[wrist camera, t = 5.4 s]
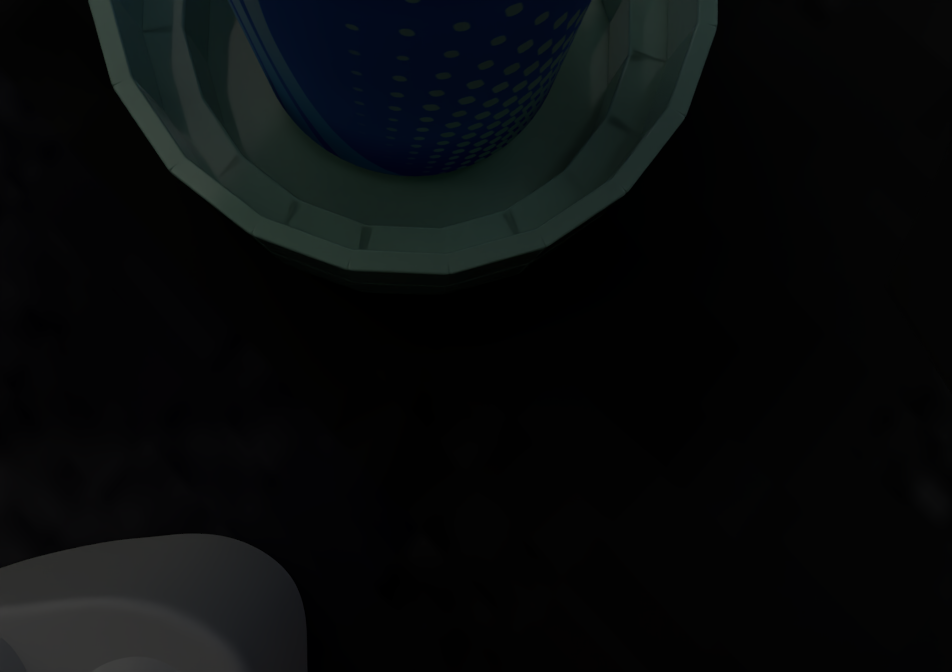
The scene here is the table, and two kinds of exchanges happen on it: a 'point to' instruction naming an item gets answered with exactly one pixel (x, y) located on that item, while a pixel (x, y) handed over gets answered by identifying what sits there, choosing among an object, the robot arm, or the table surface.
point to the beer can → (411, 73)
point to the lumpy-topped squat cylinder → (152, 609)
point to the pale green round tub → (406, 197)
